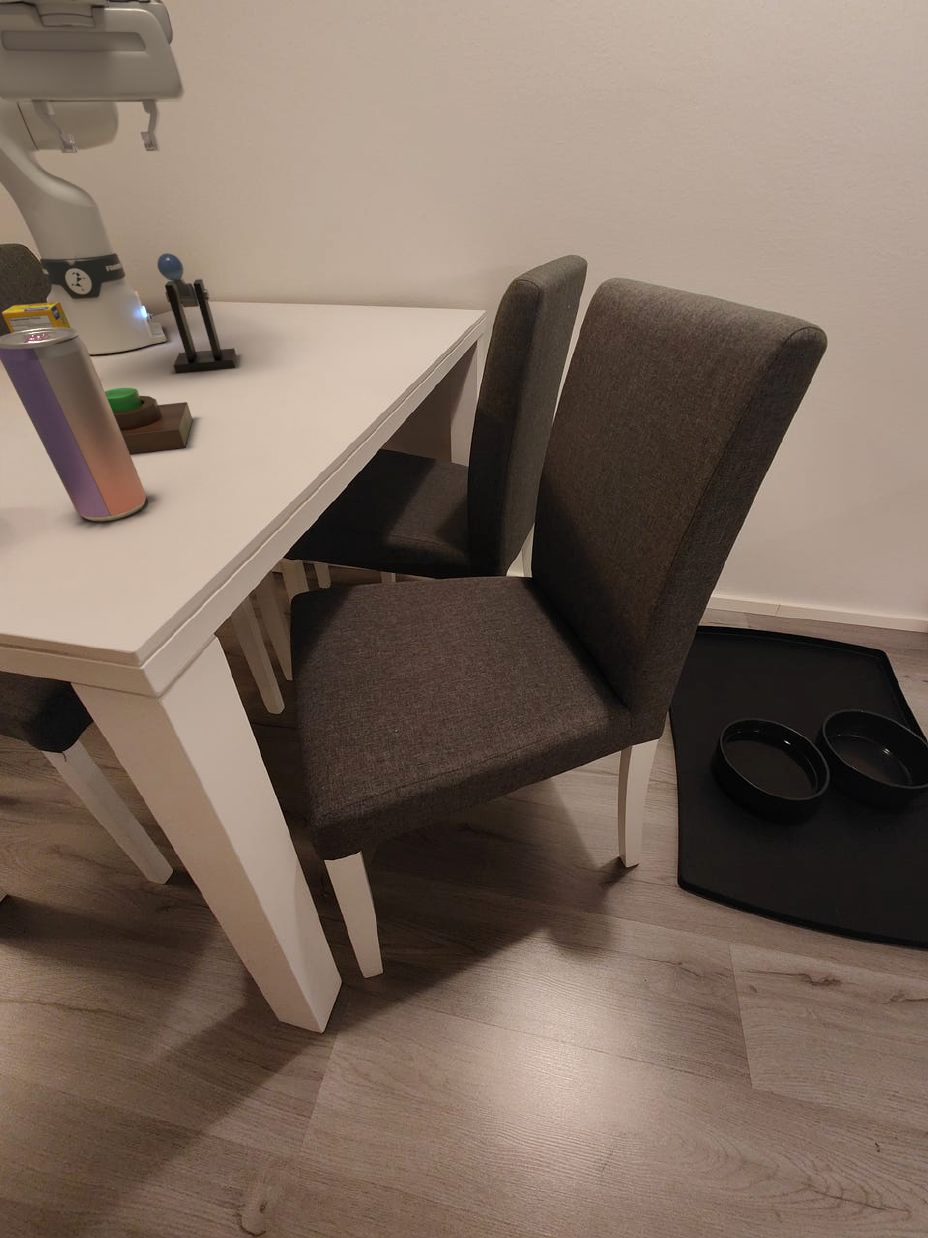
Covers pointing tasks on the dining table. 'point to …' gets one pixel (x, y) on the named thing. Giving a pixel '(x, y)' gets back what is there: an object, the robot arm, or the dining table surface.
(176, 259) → the switch lever
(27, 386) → the beverage can
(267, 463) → the dining table surface
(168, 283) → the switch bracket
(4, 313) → the supplement box
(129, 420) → the button block
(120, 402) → the light button
